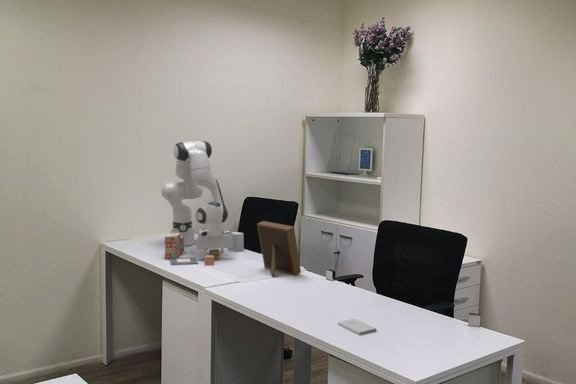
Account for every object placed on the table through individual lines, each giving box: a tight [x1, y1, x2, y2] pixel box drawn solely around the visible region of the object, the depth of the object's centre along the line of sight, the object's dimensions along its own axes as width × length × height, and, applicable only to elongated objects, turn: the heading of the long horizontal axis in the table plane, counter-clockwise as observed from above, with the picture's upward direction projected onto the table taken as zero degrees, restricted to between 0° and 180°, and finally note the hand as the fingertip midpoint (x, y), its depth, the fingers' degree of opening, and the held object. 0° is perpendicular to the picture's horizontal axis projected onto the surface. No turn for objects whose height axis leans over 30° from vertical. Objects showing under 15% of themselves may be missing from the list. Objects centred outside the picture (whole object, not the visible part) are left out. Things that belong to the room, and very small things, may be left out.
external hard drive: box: [337, 318, 377, 336], centre depth 205 cm, size 2×8×12 cm
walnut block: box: [208, 248, 221, 261], centre depth 307 cm, size 5×5×5 cm
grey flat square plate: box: [169, 256, 199, 266], centre depth 301 cm, size 14×14×1 cm
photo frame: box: [256, 220, 302, 278], centre depth 280 cm, size 15×22×25 cm
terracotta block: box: [204, 254, 215, 266], centre depth 296 cm, size 4×4×4 cm
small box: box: [227, 231, 245, 252], centre depth 331 cm, size 8×6×10 cm
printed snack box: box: [164, 232, 185, 259], centre depth 315 cm, size 21×6×12 cm, turn 179°
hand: (214, 256), depth 308 cm, fingers closed on walnut block, 5 cm apart
